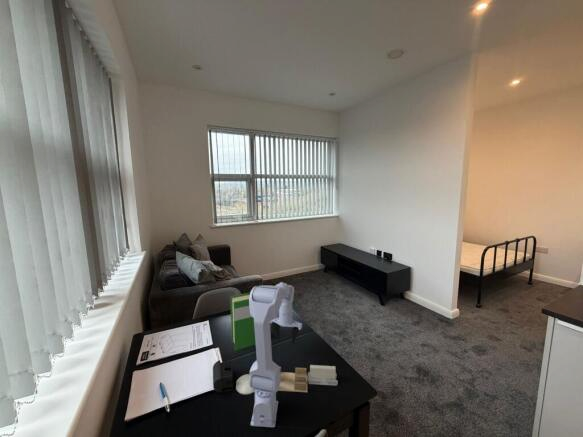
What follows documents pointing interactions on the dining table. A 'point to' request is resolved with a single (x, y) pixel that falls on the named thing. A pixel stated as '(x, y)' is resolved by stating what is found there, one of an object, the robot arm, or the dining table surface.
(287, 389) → the dish rack
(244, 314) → the hardback book
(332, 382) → the plate stand
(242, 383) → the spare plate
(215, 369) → the end cap
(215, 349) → the dining table surface
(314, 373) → the white curved panel
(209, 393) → the dining table surface
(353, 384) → the dining table surface
